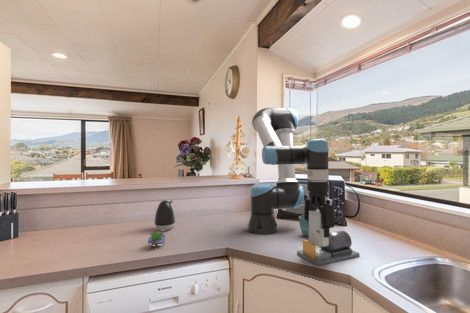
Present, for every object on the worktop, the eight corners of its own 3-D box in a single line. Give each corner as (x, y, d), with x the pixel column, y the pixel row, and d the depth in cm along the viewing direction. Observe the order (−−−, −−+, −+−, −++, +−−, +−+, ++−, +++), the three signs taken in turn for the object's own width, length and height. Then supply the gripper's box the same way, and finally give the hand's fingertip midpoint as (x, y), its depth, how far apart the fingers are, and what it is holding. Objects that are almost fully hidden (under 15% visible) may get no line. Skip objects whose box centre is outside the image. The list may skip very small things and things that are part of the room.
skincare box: (308, 242, 93) (307, 210, 93) (317, 240, 95) (316, 209, 95) (319, 247, 87) (319, 213, 88) (329, 245, 89) (328, 212, 90)
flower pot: (307, 231, 122) (307, 213, 122) (324, 235, 116) (324, 216, 116) (298, 235, 116) (298, 216, 116) (315, 240, 110) (315, 220, 110)
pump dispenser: (179, 228, 129) (179, 199, 129) (164, 234, 121) (163, 203, 121) (166, 225, 135) (165, 198, 135) (150, 230, 126) (150, 201, 126)
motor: (297, 254, 95) (297, 232, 94) (337, 246, 102) (337, 226, 102) (316, 265, 84) (316, 242, 84) (359, 256, 92) (359, 234, 92)
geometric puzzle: (163, 246, 99) (164, 226, 103) (145, 247, 97) (147, 227, 102) (165, 251, 104) (166, 232, 109) (148, 252, 103) (150, 233, 108)
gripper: (294, 179, 99) (294, 236, 99) (328, 183, 81) (329, 253, 81) (309, 178, 102) (309, 234, 102) (345, 182, 84) (346, 250, 84)
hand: (318, 242), depth 91 cm, fingers closed on skincare box, 6 cm apart
